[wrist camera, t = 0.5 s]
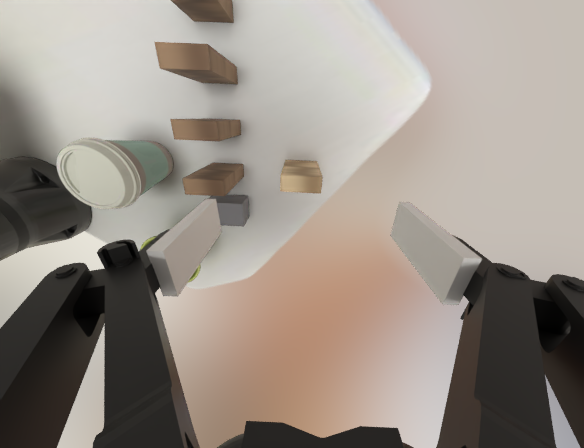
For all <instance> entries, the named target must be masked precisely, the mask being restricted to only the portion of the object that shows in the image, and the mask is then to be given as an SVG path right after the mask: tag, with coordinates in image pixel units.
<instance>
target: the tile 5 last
mask: <svg viewBox="0 0 584 448" xmlns="http://www.w3.org/2000/svg"><path fill="white" fill-rule="evenodd" d="M243 177H244V171H243V164H229V163H211V164H209V165H208V166H206V167H204V168H202V169H200V170H198V171H196V172H194V173H192V174H190V175H188V176H187V177H185V178H183V184H184V189H185V194H190V195H210V196H226V194H227V193H228V192H229V191H230V190H231V189H232V188H233V187H234V186H235V185H236V184H237V183H238V182H239V181H240V180H241V179H242V178H243Z"/></svg>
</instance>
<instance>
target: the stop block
mask: <svg viewBox="0 0 584 448" xmlns="http://www.w3.org/2000/svg"><path fill="white" fill-rule="evenodd" d="M209 199H216V202H217V208H218V214H219V219H220V225H228V226H244V225H245V223H246V221H247V220H248V218H249V205H248V196H246V195H226V196H211V197H210V198H209Z"/></svg>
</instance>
